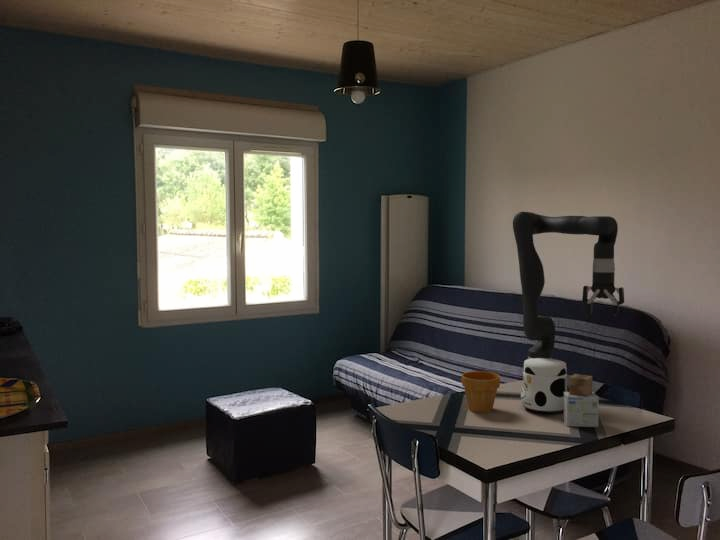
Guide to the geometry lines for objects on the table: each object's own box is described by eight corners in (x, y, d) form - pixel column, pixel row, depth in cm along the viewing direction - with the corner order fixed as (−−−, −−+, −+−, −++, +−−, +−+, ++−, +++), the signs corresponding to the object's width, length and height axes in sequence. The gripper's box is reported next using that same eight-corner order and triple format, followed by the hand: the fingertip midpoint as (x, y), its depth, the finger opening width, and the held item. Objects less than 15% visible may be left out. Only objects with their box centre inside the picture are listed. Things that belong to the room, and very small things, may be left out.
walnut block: (569, 394, 212) (569, 377, 211) (574, 390, 217) (574, 373, 216) (587, 397, 208) (587, 379, 208) (592, 393, 213) (592, 376, 213)
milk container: (511, 405, 236) (512, 359, 234) (549, 401, 241) (550, 356, 240) (538, 418, 219) (539, 369, 218) (578, 413, 225) (579, 365, 224)
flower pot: (507, 410, 229) (508, 376, 229) (481, 417, 221) (481, 382, 221) (480, 401, 241) (480, 369, 240) (453, 408, 233) (453, 374, 232)
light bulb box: (593, 421, 216) (594, 391, 215) (599, 427, 209) (599, 396, 208) (562, 420, 217) (563, 390, 216) (566, 426, 210) (567, 396, 210)
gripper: (580, 270, 226) (580, 314, 227) (621, 272, 217) (620, 317, 218) (586, 269, 232) (585, 312, 233) (626, 270, 224) (625, 314, 225)
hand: (602, 314), depth 226 cm, fingers open, 8 cm apart
